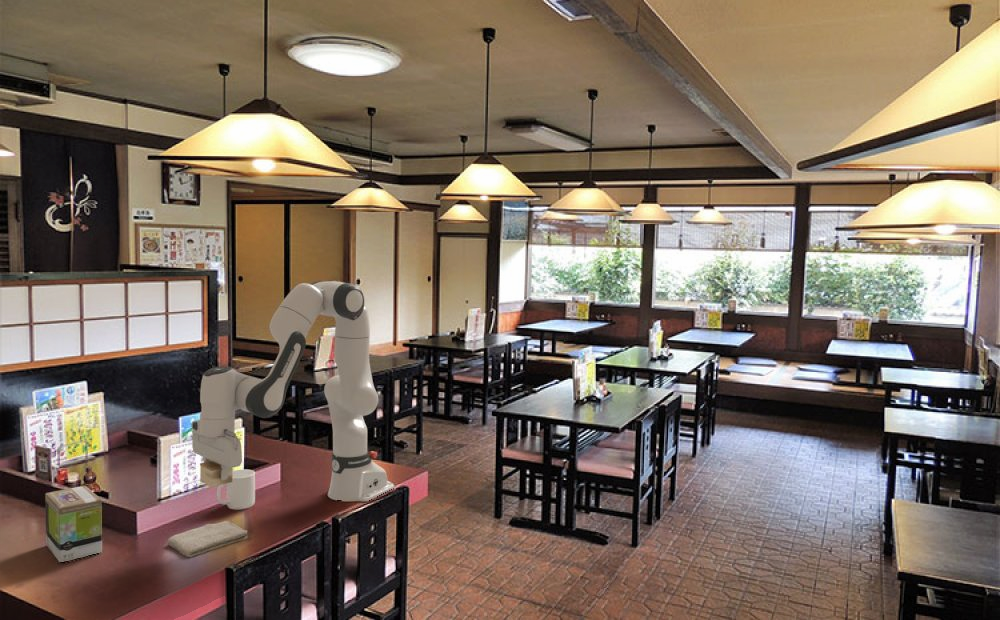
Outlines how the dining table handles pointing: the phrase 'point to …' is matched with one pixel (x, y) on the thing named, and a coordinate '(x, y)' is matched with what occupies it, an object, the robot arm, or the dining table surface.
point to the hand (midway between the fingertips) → (216, 476)
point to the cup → (239, 490)
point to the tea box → (73, 523)
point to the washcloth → (207, 538)
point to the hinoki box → (213, 474)
